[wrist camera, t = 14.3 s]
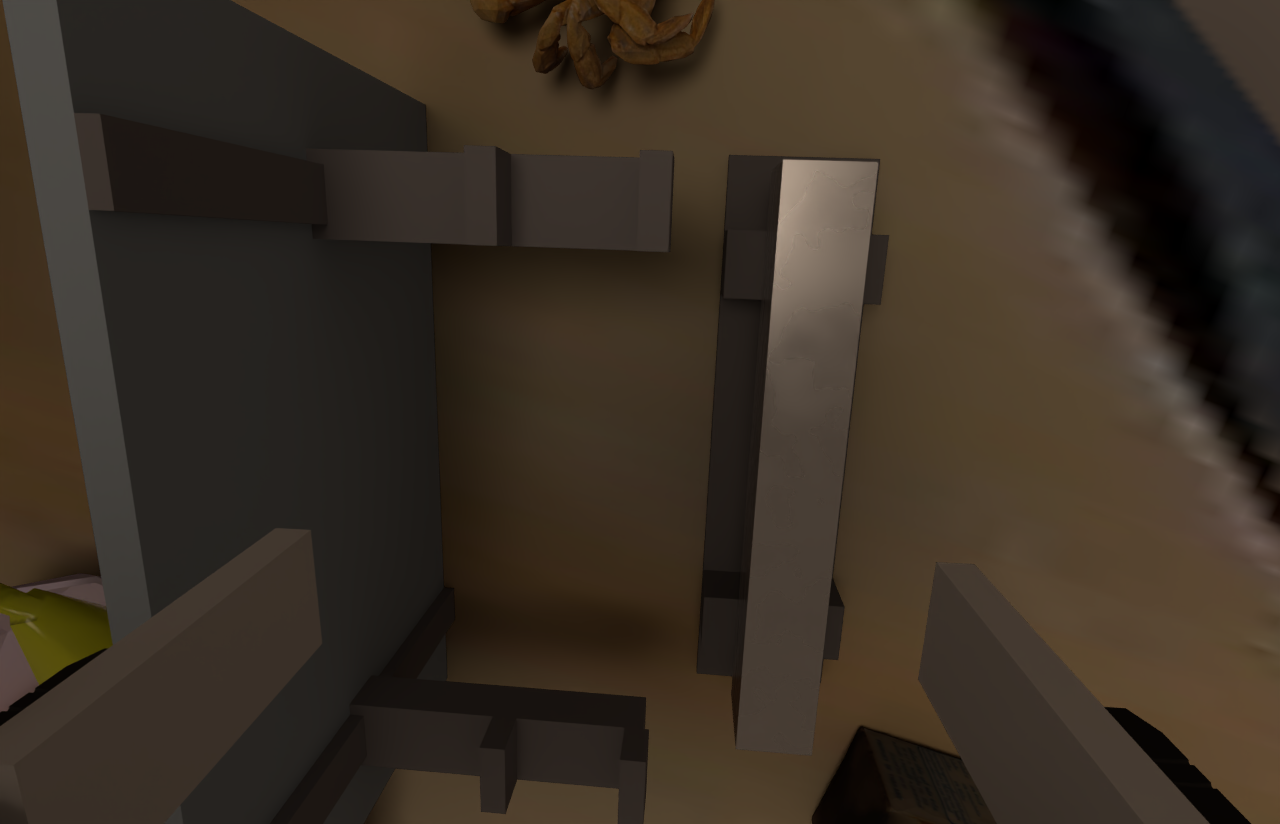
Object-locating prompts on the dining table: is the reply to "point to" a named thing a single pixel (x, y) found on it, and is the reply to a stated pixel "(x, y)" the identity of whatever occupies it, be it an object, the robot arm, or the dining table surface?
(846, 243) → the rail
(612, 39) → the crab model
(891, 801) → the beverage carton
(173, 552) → the panel
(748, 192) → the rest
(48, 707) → the robot arm
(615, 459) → the dining table surface
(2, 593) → the fruit bowl
